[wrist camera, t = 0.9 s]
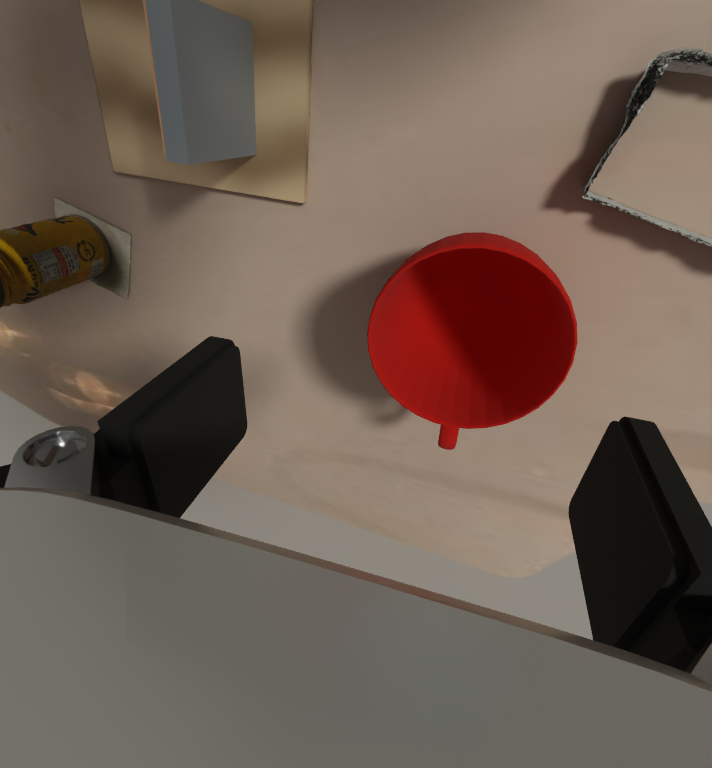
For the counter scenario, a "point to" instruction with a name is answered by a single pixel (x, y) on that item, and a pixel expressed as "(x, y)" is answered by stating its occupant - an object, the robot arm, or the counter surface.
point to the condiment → (62, 256)
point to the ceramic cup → (472, 333)
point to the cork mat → (271, 84)
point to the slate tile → (202, 80)
